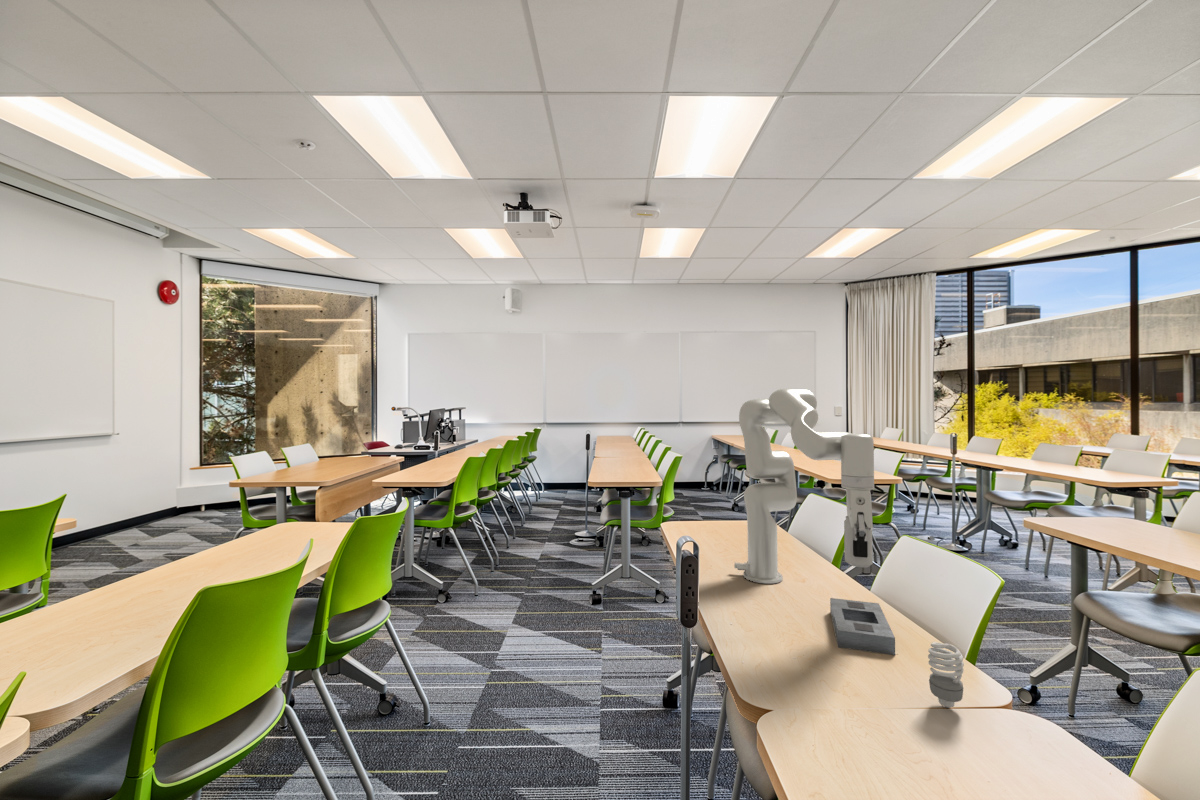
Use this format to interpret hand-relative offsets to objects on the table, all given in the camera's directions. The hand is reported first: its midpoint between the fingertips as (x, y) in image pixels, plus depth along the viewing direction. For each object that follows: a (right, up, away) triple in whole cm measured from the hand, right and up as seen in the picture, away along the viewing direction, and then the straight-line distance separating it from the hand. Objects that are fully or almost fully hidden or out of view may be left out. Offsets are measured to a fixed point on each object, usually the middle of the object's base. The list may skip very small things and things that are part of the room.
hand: (858, 552), depth 130 cm
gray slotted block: (0, -20, 0) cm, 20 cm away
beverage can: (0, -3, 0) cm, 3 cm away
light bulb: (0, -20, -33) cm, 39 cm away
